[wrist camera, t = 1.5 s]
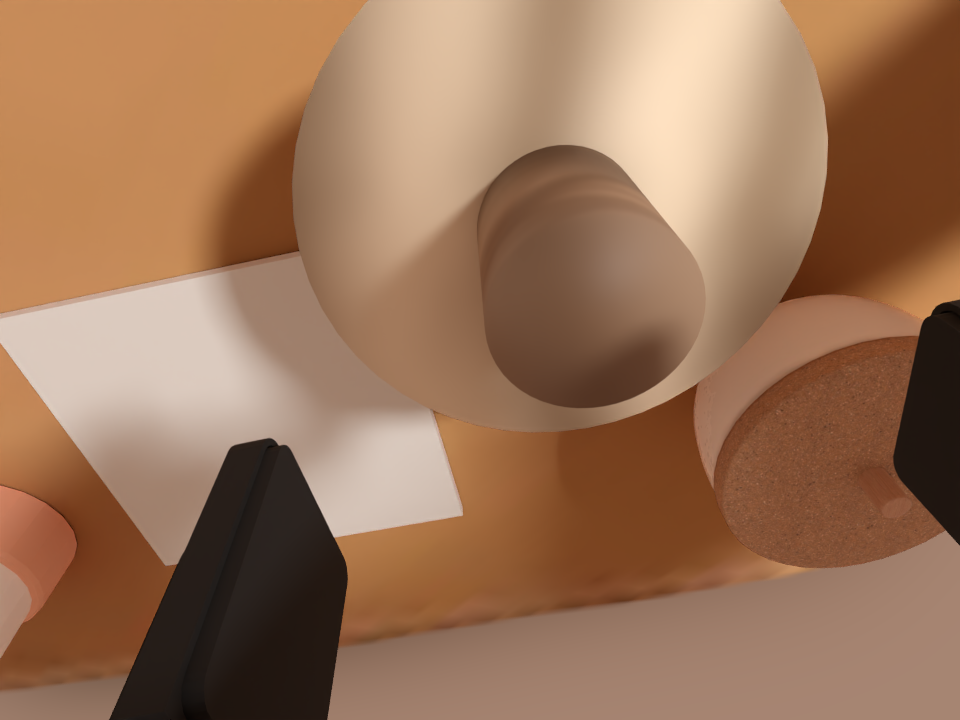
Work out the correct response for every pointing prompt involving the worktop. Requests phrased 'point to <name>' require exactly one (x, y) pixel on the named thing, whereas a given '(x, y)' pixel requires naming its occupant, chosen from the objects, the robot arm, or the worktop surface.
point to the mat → (228, 399)
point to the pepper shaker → (29, 558)
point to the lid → (557, 197)
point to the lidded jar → (815, 434)
